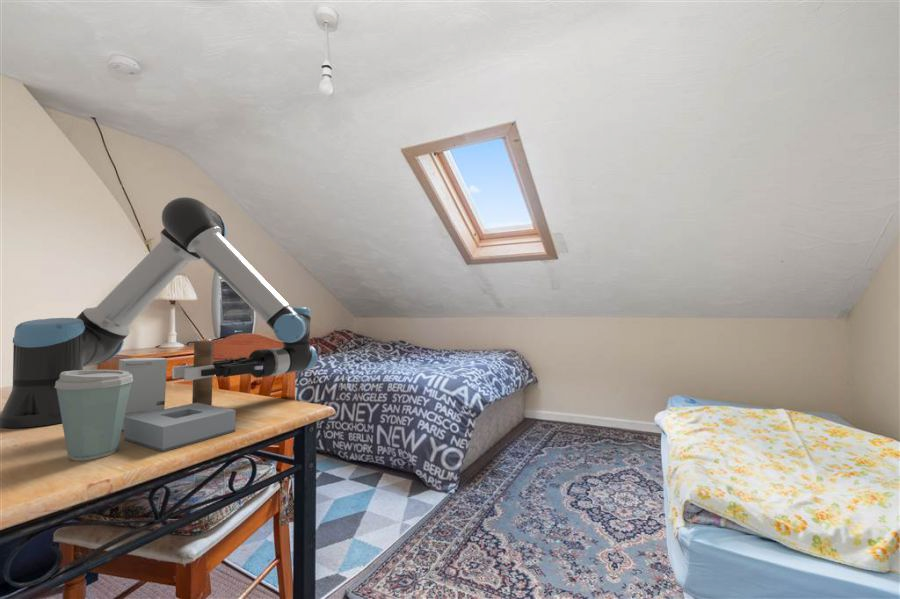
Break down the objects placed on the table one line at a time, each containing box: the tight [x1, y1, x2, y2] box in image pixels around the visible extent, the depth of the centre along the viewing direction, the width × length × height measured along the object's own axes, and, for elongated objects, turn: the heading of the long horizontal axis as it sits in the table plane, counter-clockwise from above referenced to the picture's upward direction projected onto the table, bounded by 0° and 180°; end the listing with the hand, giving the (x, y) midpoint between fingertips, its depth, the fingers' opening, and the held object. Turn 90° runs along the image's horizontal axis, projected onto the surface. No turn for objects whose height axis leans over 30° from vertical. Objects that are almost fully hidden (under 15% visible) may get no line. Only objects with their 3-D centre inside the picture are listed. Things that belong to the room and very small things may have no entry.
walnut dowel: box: [191, 340, 215, 406], centre depth 96 cm, size 4×4×16 cm
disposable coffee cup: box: [55, 369, 133, 462], centre depth 71 cm, size 11×11×15 cm
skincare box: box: [118, 357, 168, 432], centre depth 90 cm, size 8×6×15 cm
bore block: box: [123, 403, 236, 453], centre depth 82 cm, size 14×14×4 cm
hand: (179, 373), depth 91 cm, fingers closed on walnut dowel, 4 cm apart
